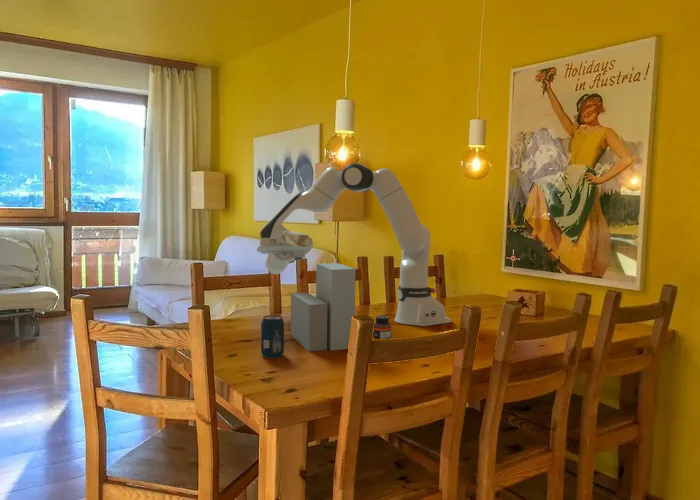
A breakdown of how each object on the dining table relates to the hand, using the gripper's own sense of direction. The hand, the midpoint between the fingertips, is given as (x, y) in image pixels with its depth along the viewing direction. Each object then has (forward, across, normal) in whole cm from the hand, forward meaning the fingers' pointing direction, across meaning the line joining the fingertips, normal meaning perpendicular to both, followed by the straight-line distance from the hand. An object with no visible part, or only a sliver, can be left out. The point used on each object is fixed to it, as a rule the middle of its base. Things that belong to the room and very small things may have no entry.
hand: (290, 236), depth 206 cm
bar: (+5, 0, +6) cm, 7 cm away
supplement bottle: (+18, +19, +51) cm, 57 cm away
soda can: (+14, -15, +48) cm, 52 cm away
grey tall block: (+7, +8, +43) cm, 45 cm away
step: (+3, 0, +41) cm, 42 cm away
